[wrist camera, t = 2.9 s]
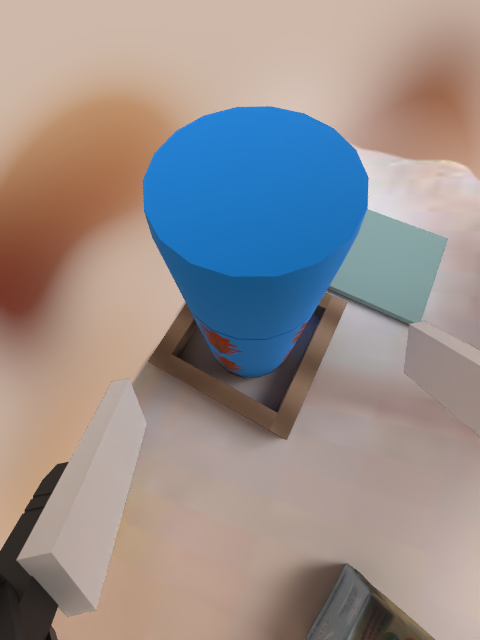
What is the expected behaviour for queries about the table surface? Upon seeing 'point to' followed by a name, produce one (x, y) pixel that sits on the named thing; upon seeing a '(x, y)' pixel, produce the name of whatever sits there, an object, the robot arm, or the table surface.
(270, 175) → the thermos
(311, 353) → the dock
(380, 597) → the beverage carton
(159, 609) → the table surface
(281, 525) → the table surface
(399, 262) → the mat
